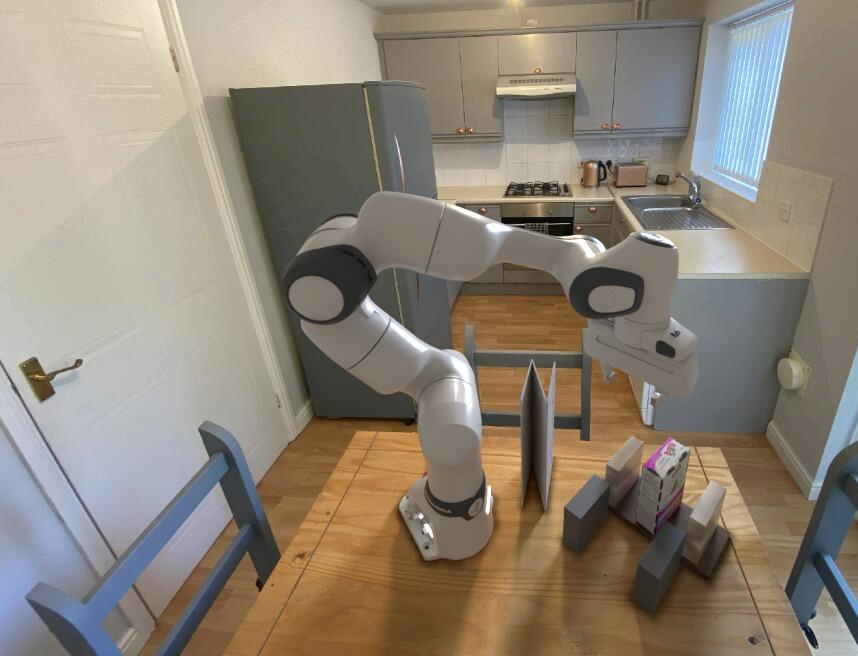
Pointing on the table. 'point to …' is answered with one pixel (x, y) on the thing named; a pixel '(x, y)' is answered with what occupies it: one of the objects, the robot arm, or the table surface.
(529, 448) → the brochure
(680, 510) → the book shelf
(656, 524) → the candy bar box
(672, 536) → the dark gray block pair
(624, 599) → the table surface
